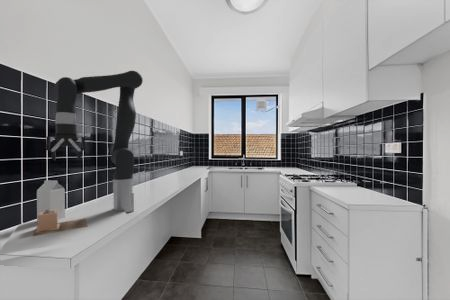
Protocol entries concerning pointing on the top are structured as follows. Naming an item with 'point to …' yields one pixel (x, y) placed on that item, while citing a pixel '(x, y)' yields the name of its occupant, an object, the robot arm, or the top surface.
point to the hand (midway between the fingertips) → (66, 160)
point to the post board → (63, 225)
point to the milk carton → (51, 198)
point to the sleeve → (47, 220)
